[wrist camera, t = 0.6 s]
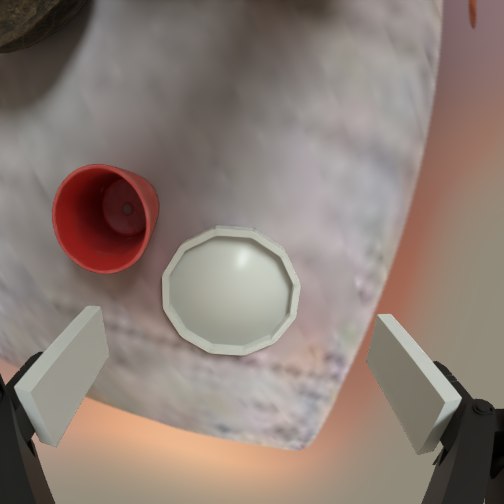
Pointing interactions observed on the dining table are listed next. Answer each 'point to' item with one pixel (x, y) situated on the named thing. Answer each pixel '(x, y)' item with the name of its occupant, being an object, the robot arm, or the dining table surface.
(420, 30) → the dining table surface
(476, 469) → the robot arm
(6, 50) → the bowl
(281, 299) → the saucer
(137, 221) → the flower pot
